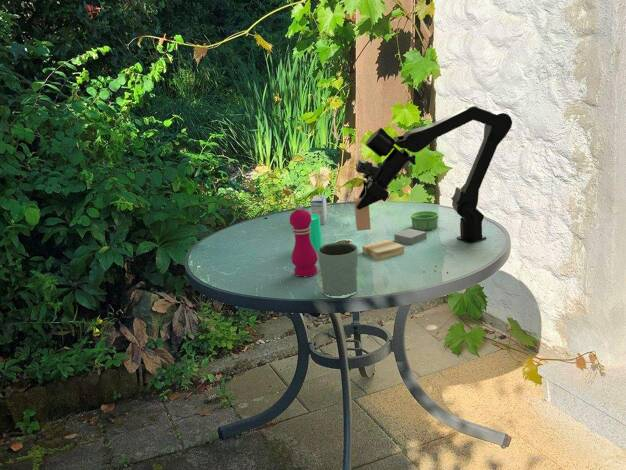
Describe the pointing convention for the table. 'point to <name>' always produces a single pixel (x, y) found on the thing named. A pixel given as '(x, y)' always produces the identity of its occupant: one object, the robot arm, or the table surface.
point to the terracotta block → (362, 216)
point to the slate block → (410, 236)
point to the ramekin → (424, 220)
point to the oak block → (383, 249)
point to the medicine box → (319, 207)
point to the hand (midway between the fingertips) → (357, 206)
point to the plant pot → (338, 268)
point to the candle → (315, 232)
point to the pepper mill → (303, 243)
